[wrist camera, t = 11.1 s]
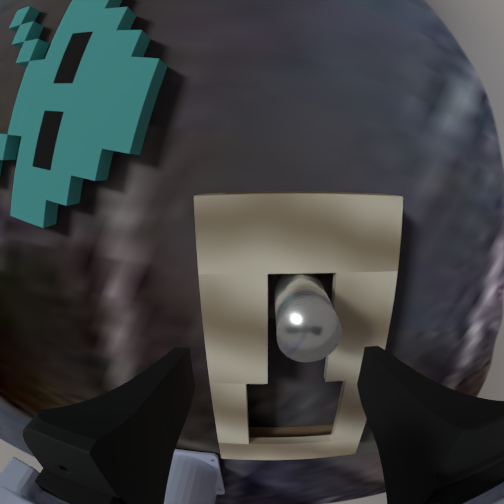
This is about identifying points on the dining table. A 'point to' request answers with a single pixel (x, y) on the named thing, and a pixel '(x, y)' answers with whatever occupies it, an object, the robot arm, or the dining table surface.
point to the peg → (304, 315)
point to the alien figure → (76, 104)
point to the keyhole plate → (256, 302)
